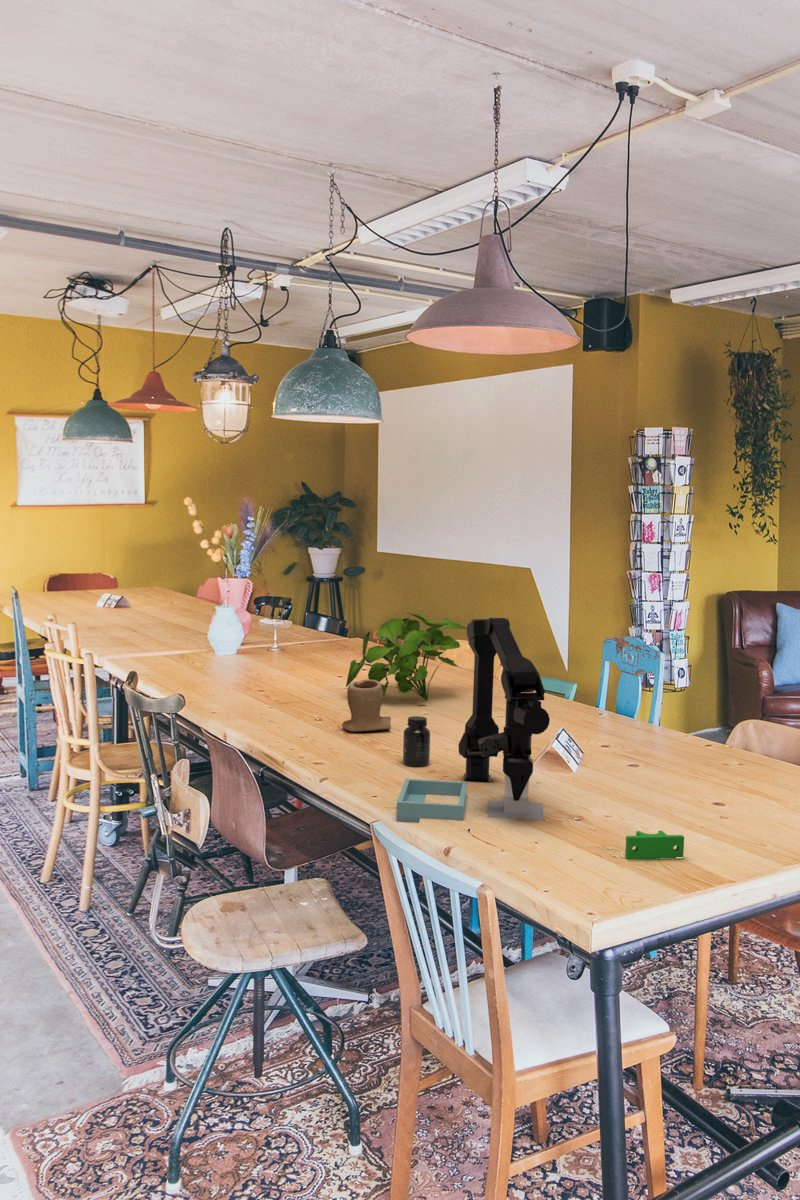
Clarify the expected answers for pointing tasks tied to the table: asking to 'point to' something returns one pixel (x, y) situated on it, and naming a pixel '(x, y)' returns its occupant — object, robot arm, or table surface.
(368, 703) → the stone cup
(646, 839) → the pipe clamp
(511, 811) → the beige rectangular block
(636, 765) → the table surface
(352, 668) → the indoor plant
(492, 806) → the stud base
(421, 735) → the supplement bottle
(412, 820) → the bin
